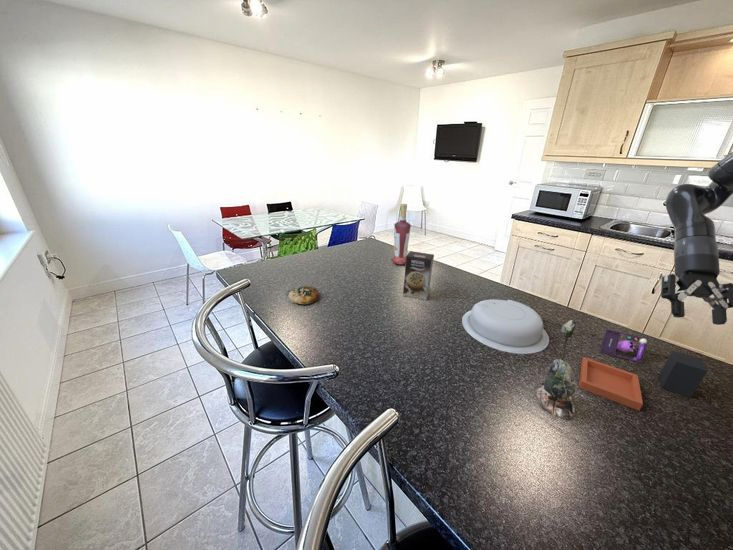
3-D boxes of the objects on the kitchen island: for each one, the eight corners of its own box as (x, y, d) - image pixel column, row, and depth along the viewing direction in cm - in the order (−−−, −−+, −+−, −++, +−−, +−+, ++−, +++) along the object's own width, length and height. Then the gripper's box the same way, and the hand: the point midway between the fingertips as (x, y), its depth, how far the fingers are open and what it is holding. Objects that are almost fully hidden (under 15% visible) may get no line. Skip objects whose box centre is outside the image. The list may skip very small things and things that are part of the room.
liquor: (408, 266, 137) (413, 206, 125) (392, 266, 137) (396, 205, 125) (406, 260, 144) (411, 202, 132) (391, 260, 143) (394, 202, 132)
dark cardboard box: (402, 296, 110) (405, 255, 103) (406, 289, 115) (409, 250, 109) (426, 300, 107) (431, 259, 100) (429, 293, 112) (434, 253, 106)
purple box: (607, 329, 80) (650, 339, 76) (602, 326, 85) (642, 335, 81) (600, 352, 81) (642, 363, 77) (596, 348, 86) (635, 358, 82)
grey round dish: (492, 359, 78) (497, 340, 76) (448, 311, 100) (450, 295, 98) (569, 347, 83) (576, 329, 81) (511, 304, 106) (515, 289, 103)
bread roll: (321, 290, 112) (320, 279, 109) (316, 309, 102) (315, 297, 100) (293, 290, 112) (291, 279, 109) (285, 309, 103) (282, 297, 100)
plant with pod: (523, 406, 64) (547, 330, 56) (542, 381, 71) (567, 310, 63) (564, 431, 59) (599, 350, 50) (581, 402, 66) (614, 326, 57)
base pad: (634, 381, 72) (637, 374, 71) (639, 411, 64) (643, 404, 63) (580, 362, 78) (583, 356, 77) (579, 387, 69) (581, 381, 69)
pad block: (685, 385, 71) (701, 358, 68) (690, 398, 67) (707, 371, 64) (658, 376, 74) (672, 350, 70) (661, 388, 70) (676, 361, 67)
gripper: (677, 248, 72) (680, 313, 68) (745, 257, 70) (751, 325, 66) (651, 257, 79) (652, 316, 75) (712, 266, 77) (716, 327, 73)
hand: (698, 320), depth 71 cm, fingers open, 8 cm apart
